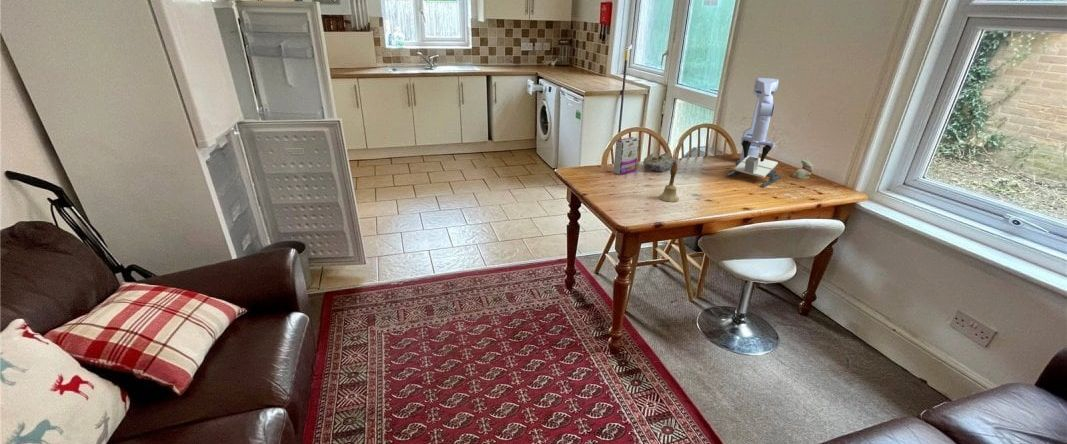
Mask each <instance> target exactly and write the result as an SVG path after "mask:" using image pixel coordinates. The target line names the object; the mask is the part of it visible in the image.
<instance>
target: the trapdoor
mask: <svg viewBox="0 0 1067 444" xmlns="http://www.w3.org/2000/svg"><path fill="white" fill-rule="evenodd" d="M749 157H750V155H748V156H747V157H746V158H745V159H744V160H743V161H742V162H741V163H740V164H739V165H737V166H736V165H735V167H734V170H733V171H735V170H736V171H740V173H744V174H748V175H751V176H755V177H760V178H766V175H767V174H768V173H771V172H772V170H773V169H775V167H776V166H777V165H778V164H779V162H778V161H775V160H770V159H766V158H765V159H764V161H762V162H761V161H760V160H761V157H759V156H758V157H756V158H759V159H758V167H757V170H756V171H755V172H754V173H750V172H746V171H745V162H746V159H747V158H749ZM752 157H754V156H752Z"/></svg>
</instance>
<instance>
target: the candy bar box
mask: <svg viewBox="0 0 1067 444" xmlns="http://www.w3.org/2000/svg"><path fill="white" fill-rule="evenodd" d="M615 141H616V142H615V150H614V159H613V162H614V163H613V170H612V171H613V173H614V174H615V173H616V175H618V176H623V175H625V174H629V173H634V172H636V170H637V161H638V151H639V143H640V138H637V137H634V136H630V137H625V138H619V139H616V140H615Z"/></svg>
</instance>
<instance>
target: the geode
mask: <svg viewBox="0 0 1067 444" xmlns="http://www.w3.org/2000/svg"><path fill="white" fill-rule="evenodd" d="M674 162H678V161H677V158H676V159H675V158H673V156H672V155H671V154H669V153H667V152H664V153H663V154H660V155H655V156H654V153H650V154H649V155H647V156H646V157H645V158H644V159H643V163H642V165H644V167H645V168H646V169H647V170H648V171H649V170H651V171H652V170H653V171H655V172H656V171H657V172H660V173H663V172H665V171H667V170H668V171H671V167H672V165H673V163H674Z"/></svg>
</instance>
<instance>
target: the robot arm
mask: <svg viewBox="0 0 1067 444" xmlns="http://www.w3.org/2000/svg"><path fill="white" fill-rule="evenodd" d="M778 87H779V78H772V77H771V78H768V77H758V76H757V77H756V78H755V80H754V86H753V92H752V93H753V94H754V95H756V102H755V107H754V111H753V115H752V119H751V124H750V127H749V128H747V129H745V130H743V134H742V136H741V139H740V145H741V147H742V150H741V153H740V158H739V160H740V161H741V162H742V161H743V160H744V159H745V158H746V157H747V156H748V155H750V156H754V157H758V158H759V154H760V148H762V151H761V152H762V153H761V157H760V158H761V160H760V161H761V162H762V161H764V159H766V156H767V155H768V154H769V152H770V151H771V150H772V148H775V146H776V142H773V141H769V140H766V138H767V134H768V131H769V127H770V126H769V125H770V121H771V117H772V118H773V116H774V112H775V108H776V107H775V102H774V94H775V93H776V92H777V91H778V90H777V89H778Z"/></svg>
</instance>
